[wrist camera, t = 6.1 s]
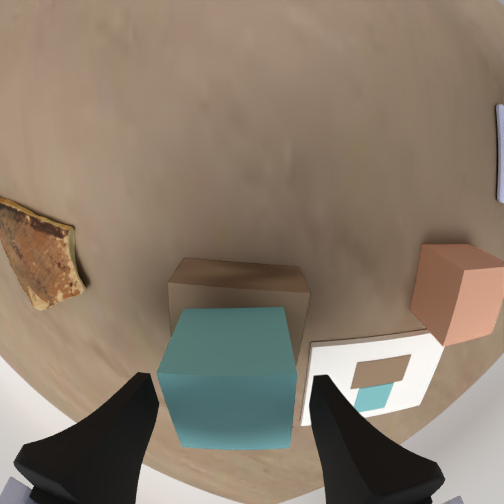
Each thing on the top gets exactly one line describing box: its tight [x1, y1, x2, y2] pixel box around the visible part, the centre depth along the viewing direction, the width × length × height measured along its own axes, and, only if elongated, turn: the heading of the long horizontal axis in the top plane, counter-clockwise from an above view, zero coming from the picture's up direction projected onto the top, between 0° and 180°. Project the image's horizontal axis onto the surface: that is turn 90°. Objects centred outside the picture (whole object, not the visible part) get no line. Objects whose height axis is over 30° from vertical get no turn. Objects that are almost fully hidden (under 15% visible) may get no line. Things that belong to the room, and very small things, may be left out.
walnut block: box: [168, 258, 310, 365], centre depth 17 cm, size 7×7×4 cm
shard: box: [0, 197, 86, 311], centre depth 16 cm, size 11×8×2 cm
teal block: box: [157, 307, 297, 450], centre depth 12 cm, size 5×5×5 cm
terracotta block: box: [410, 244, 504, 347], centre depth 15 cm, size 5×5×5 cm
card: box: [300, 329, 444, 426], centre depth 20 cm, size 12×9×1 cm
